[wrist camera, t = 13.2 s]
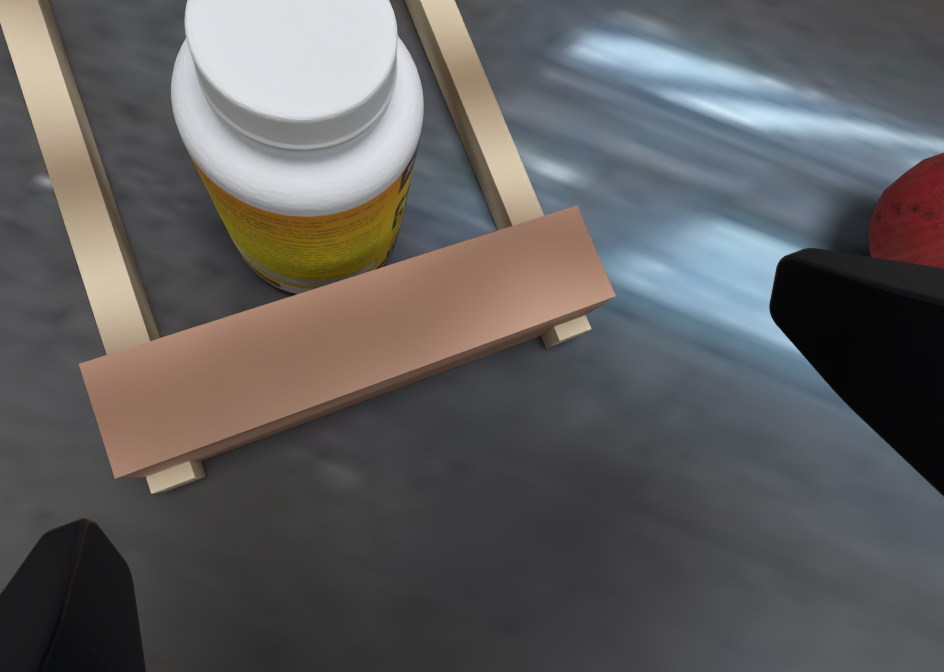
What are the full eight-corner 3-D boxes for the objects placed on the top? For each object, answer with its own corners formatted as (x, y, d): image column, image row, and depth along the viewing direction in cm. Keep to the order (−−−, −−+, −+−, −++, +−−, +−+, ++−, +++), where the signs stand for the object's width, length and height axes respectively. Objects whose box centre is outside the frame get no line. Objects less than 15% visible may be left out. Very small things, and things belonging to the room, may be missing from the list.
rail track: (575, 337, 23) (622, 311, 19) (165, 491, 19) (120, 498, 16) (399, -91, 25) (408, -192, 21) (0, -21, 21) (-75, -127, 18)
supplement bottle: (411, 289, 22) (463, 148, 12) (243, 312, 21) (150, 175, 11) (385, 140, 23) (413, -104, 13) (222, 153, 22) (119, -105, 12)
